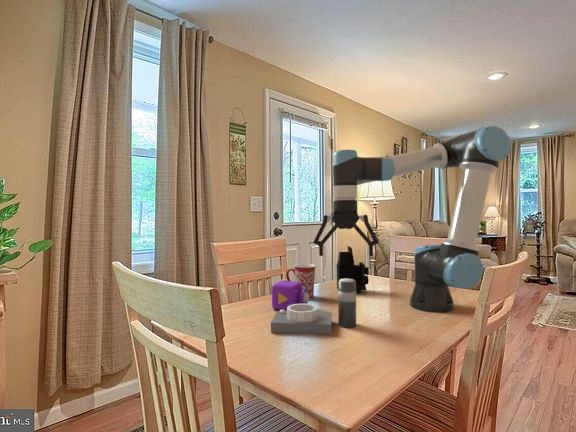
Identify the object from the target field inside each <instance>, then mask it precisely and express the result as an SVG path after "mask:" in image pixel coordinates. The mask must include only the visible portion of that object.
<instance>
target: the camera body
mask: <svg viewBox="0 0 576 432" xmlns="http://www.w3.org/2000/svg"><path fill="white" fill-rule="evenodd" d="M332 322H333V321H332V312H327V311H326V312H325V311H319V307H318V306H317V305H315V304H310V303H307V304H292V305H290V306H288V307H287V311H285V310H277V311H276V313H275V314H274V316H273V319H272V320H271V321H270V333H273V334H275V333H276V334H277V333H278V334H302V335H303V334H305V335H326V336H327V335H329V336H330V335H332Z"/></svg>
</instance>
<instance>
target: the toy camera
mask: <svg viewBox="0 0 576 432" xmlns="http://www.w3.org/2000/svg"><path fill="white" fill-rule="evenodd" d="M309 300H310V299H309V292H308V289H307V288H305V289H303V290H302V284H301V283H300V282H296V281H293V280H290V281H288V280H287V279H281V281H278V282H276V283H274V284H273V285H272V286H271V306H272V307H271V308H272V309H273V310H277V311H280V310H285V311H287V307H288V306H290V305H292V304H309Z"/></svg>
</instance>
